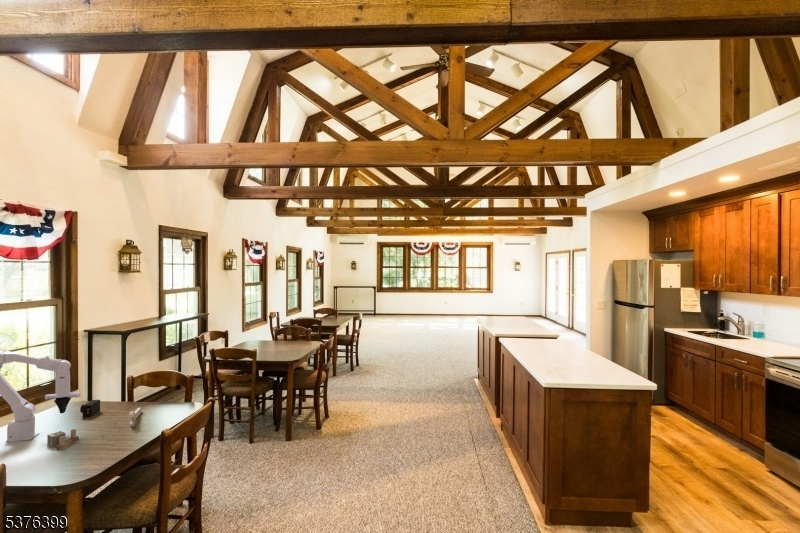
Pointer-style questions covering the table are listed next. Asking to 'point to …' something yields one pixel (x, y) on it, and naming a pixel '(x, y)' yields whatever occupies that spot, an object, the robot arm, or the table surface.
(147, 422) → the table surface
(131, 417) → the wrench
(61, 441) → the peg rack
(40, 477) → the table surface
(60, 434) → the dice cube
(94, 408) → the digital camera
